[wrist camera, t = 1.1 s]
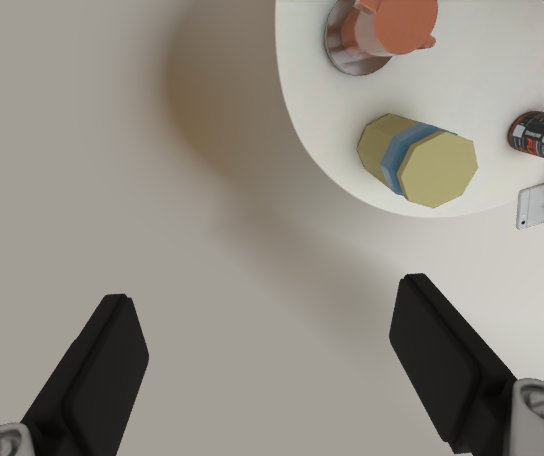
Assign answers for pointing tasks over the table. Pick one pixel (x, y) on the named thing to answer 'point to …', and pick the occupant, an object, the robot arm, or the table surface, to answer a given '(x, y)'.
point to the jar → (418, 159)
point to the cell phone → (530, 207)
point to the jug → (377, 32)
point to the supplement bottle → (528, 134)
